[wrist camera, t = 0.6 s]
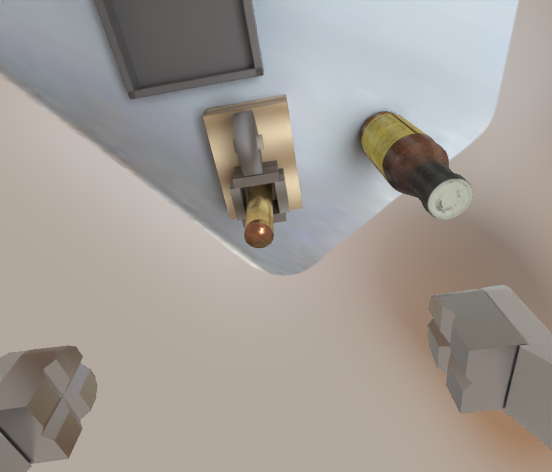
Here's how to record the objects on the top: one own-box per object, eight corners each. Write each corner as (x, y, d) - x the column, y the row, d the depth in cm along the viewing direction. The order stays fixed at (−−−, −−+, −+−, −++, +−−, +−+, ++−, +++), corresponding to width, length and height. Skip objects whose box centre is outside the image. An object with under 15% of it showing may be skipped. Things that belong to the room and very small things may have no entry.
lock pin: (246, 178, 47) (241, 225, 37) (269, 174, 47) (270, 221, 37) (251, 199, 49) (247, 249, 39) (273, 195, 49) (275, 245, 39)
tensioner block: (206, 104, 46) (191, 129, 37) (285, 90, 46) (289, 112, 36) (232, 206, 54) (225, 247, 45) (300, 195, 53) (307, 235, 44)
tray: (139, 93, 45) (130, 99, 42) (100, -20, 39) (86, -22, 36) (263, 70, 44) (263, 75, 41) (243, -50, 38) (241, -54, 35)
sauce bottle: (354, 154, 50) (398, 229, 33) (363, 107, 47) (418, 164, 30) (401, 158, 51) (468, 234, 34) (413, 111, 47) (495, 169, 30)
